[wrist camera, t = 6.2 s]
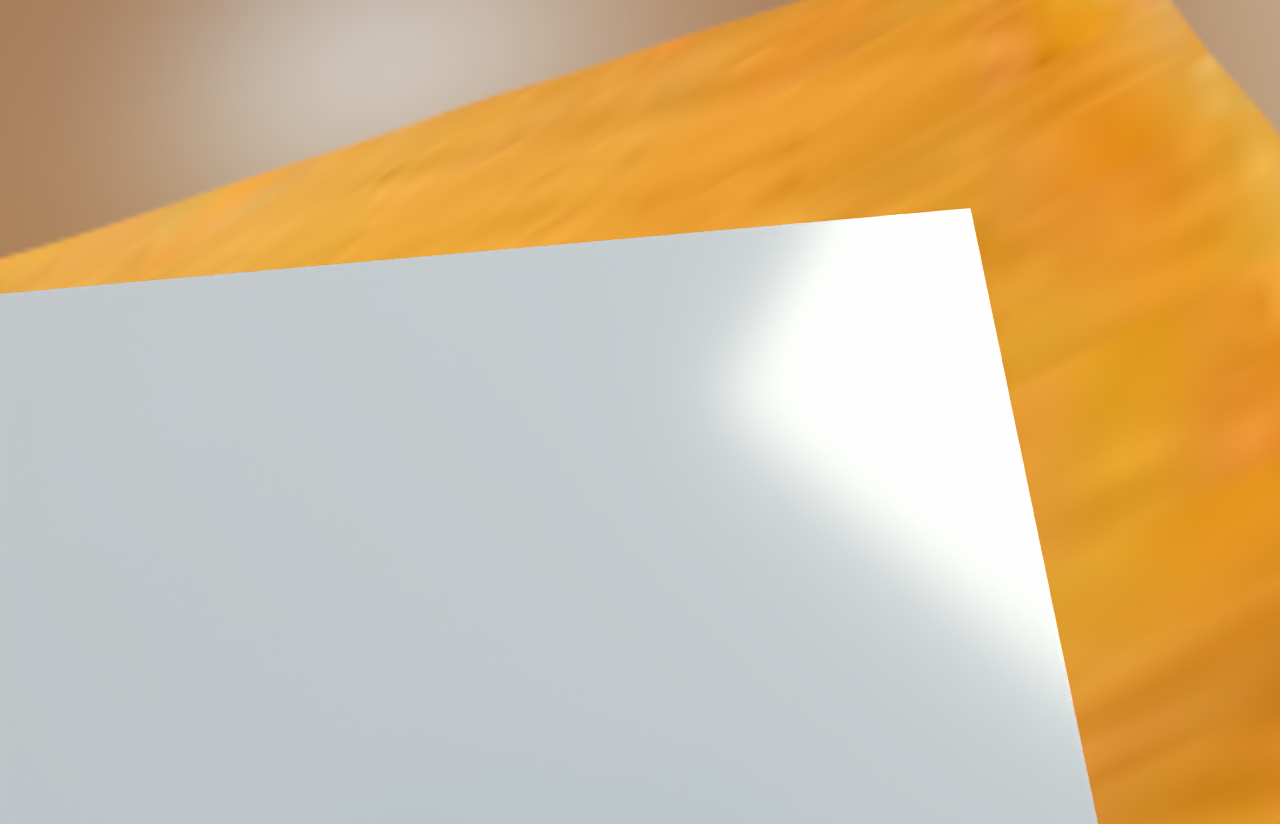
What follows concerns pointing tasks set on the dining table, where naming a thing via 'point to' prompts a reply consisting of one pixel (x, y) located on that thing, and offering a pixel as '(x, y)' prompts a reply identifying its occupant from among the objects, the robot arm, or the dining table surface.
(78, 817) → the tall pale pillar
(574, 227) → the dining table surface
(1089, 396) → the dining table surface
